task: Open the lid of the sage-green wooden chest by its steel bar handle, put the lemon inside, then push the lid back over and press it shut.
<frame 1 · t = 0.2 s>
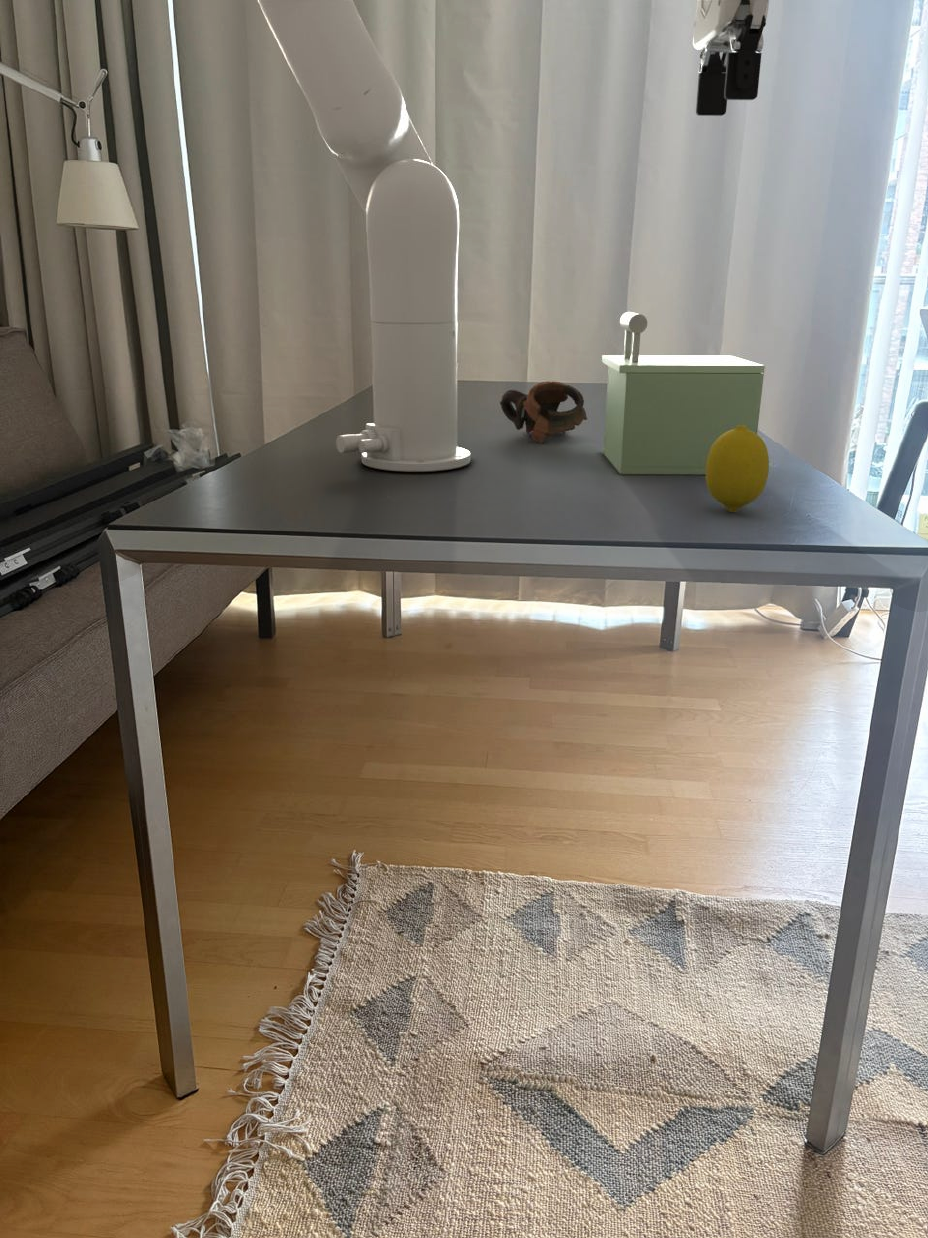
hand: (724, 107, 97), 37 cm above the table, tool pointing down, fingers open, 9 cm apart
lemon: (732, 514, 86), on the table
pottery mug: (541, 438, 126), on the table
lid: (680, 340, 104), point 14 cm above the table, hinge at 0.0°
chest: (674, 463, 108), on the table
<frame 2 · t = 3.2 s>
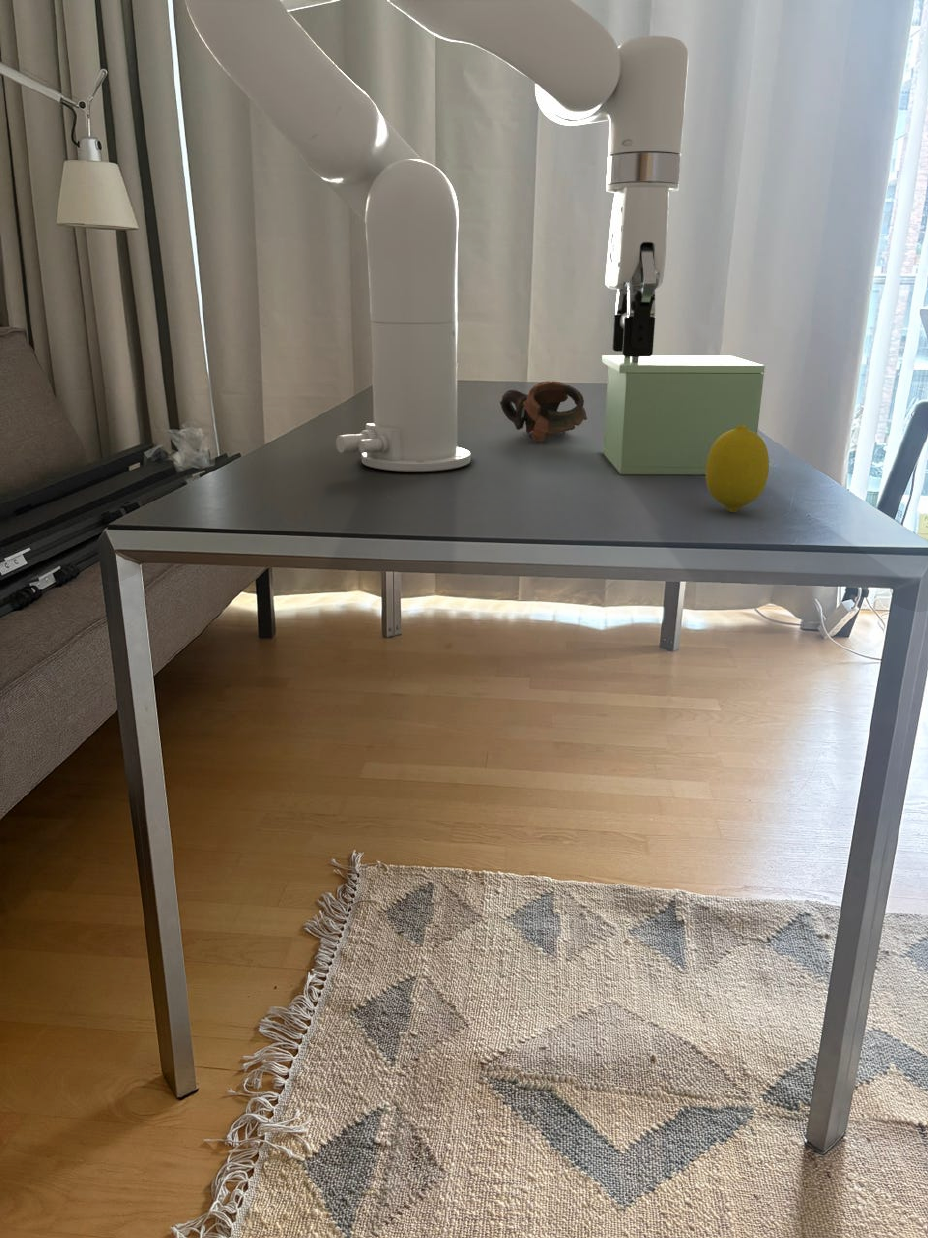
hand: (631, 352, 104), 12 cm above the table, tool pointing down, fingers closed on lid, 6 cm apart
lid: (680, 340, 104), point 14 cm above the table, hinge at 0.0°, touching gripper
everything else where it was.
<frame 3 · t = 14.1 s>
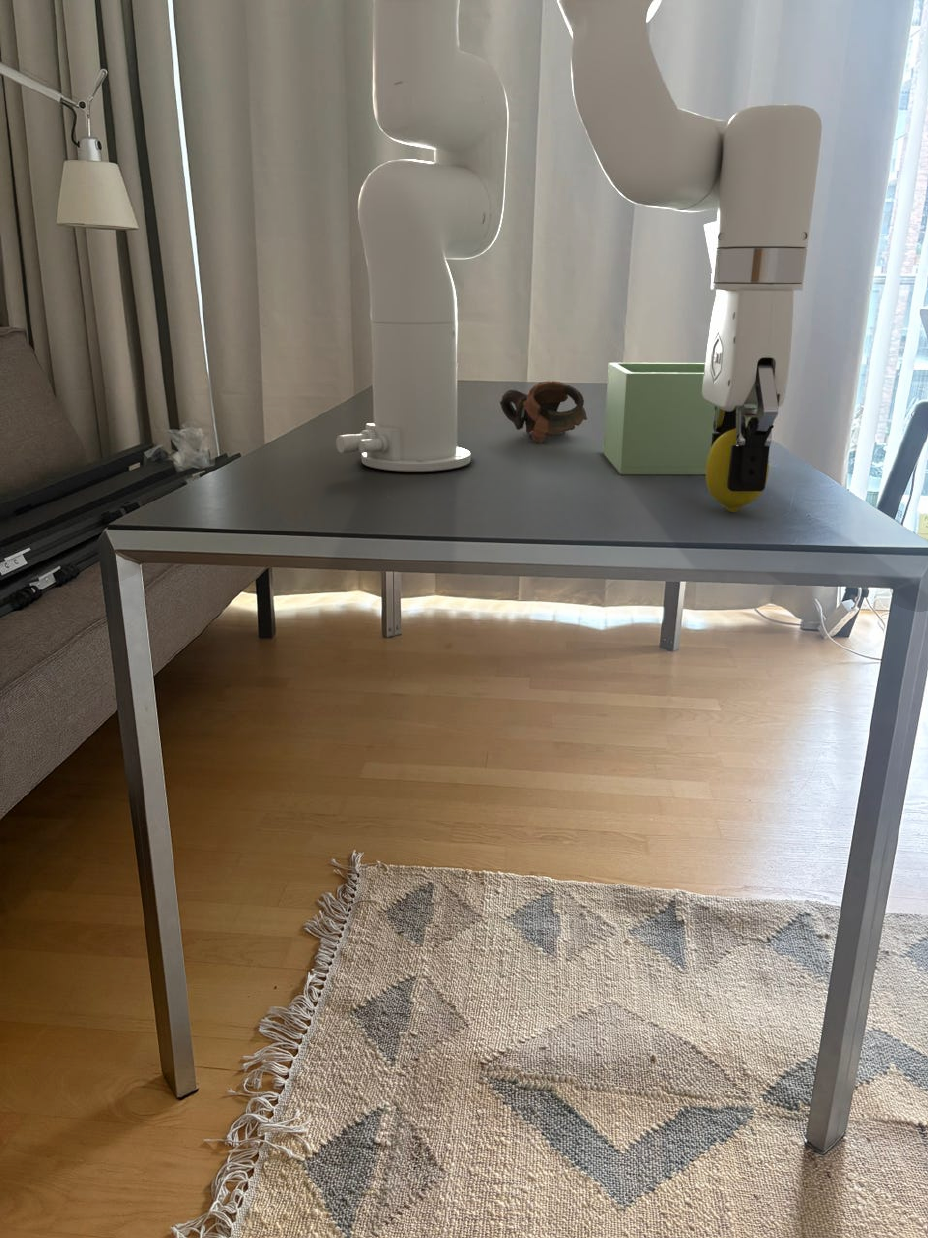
hand: (735, 481, 85), 3 cm above the table, tool pointing down, fingers closed on lemon, 5 cm apart
lemon: (732, 514, 86), on the table, touching gripper
lid: (757, 287, 102), point 19 cm above the table, hinge at 73.6°
everything else where it was.
when the fingers open (10 cm above the table, at t = 20.5 s): lemon drops 6 cm, resting on chest.
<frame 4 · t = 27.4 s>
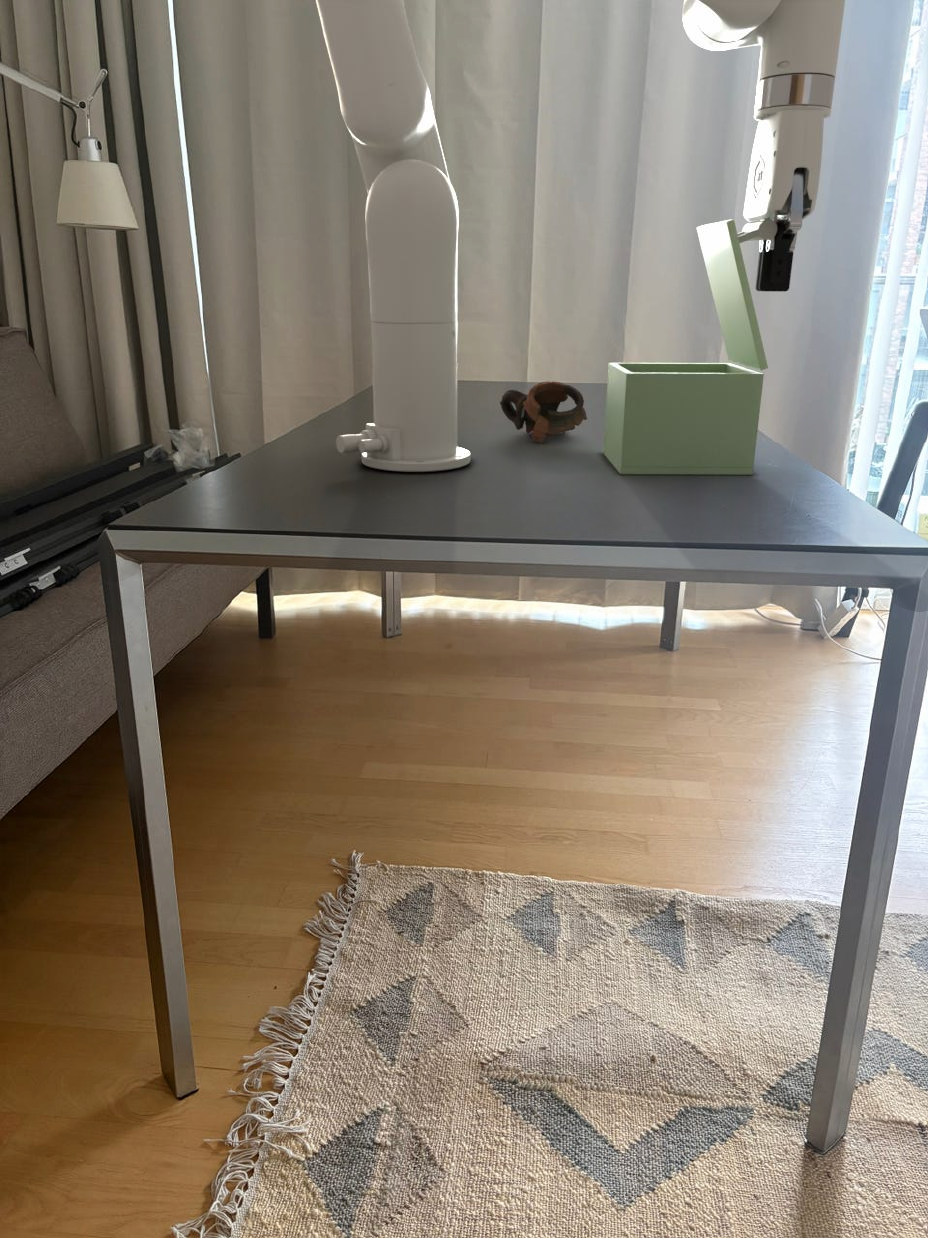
hand: (771, 290, 102), 19 cm above the table, tool pointing down, fingers closed
lemon: (665, 452, 108), point 1 cm above the table, touching chest
lid: (753, 287, 102), point 19 cm above the table, hinge at 70.4°, touching gripper
everything else where it was.
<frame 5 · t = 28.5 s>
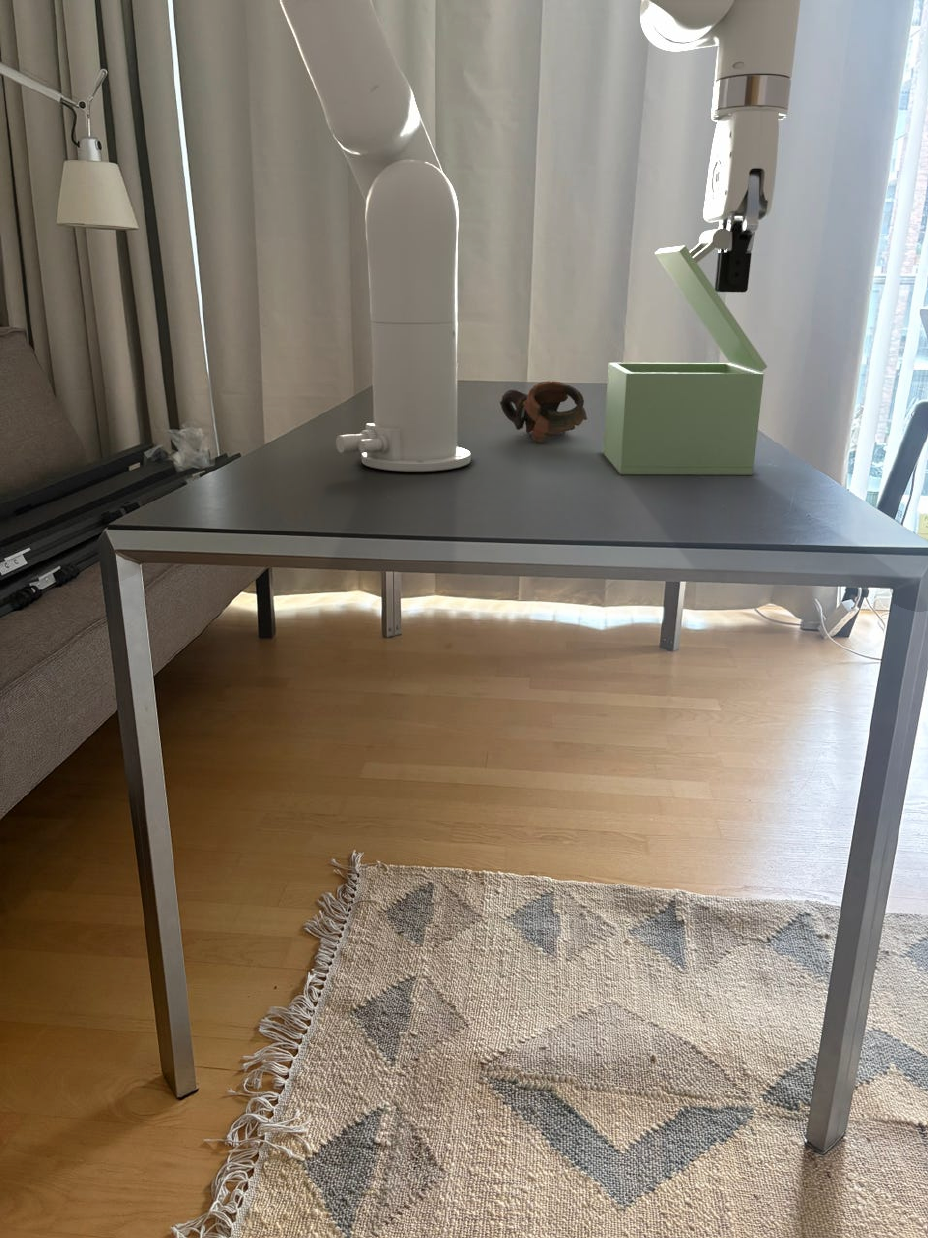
hand: (730, 291, 102), 19 cm above the table, tool pointing down, fingers closed
lid: (727, 292, 102), point 19 cm above the table, hinge at 50.5°
everything else where it was.
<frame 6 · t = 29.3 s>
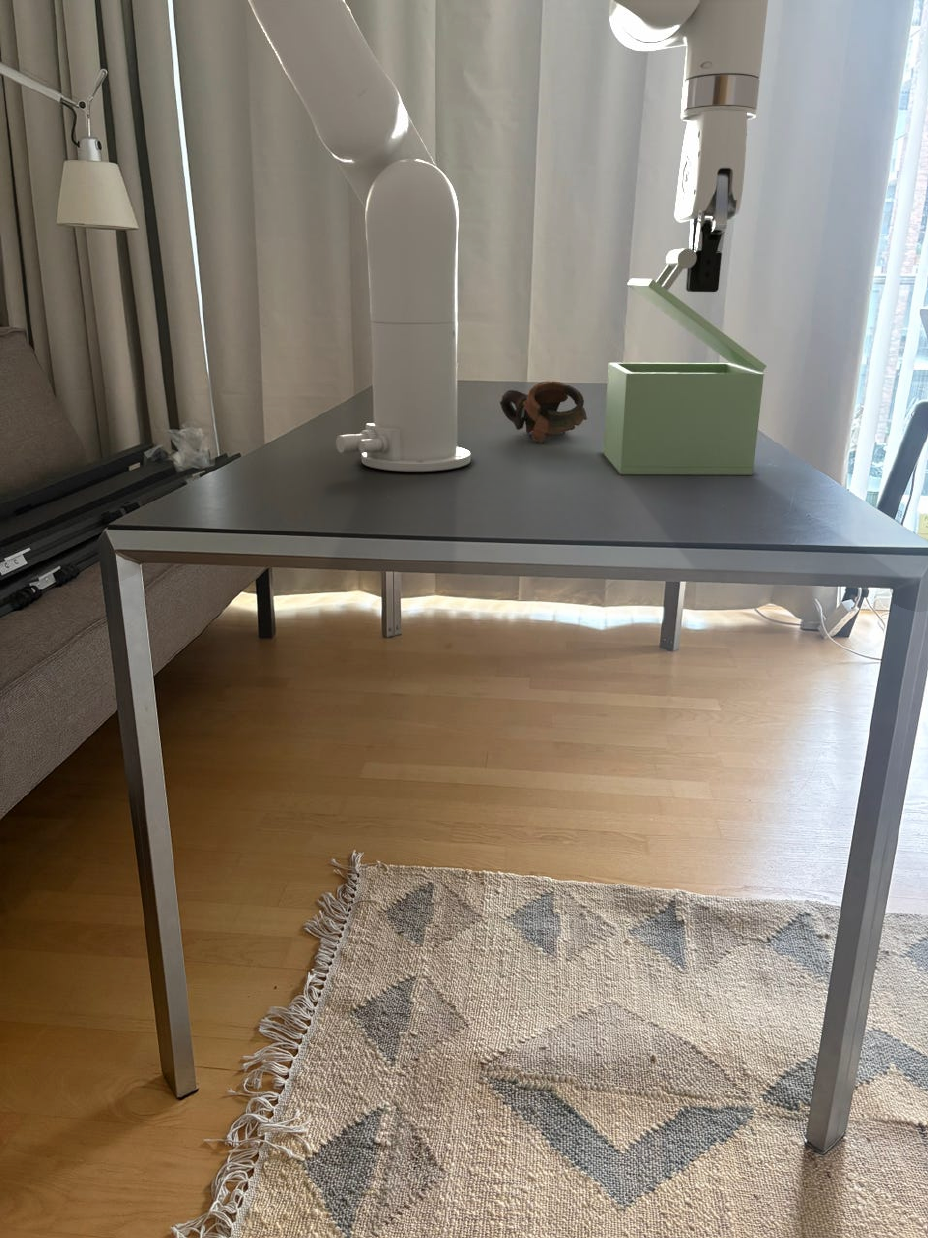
hand: (701, 291, 102), 19 cm above the table, tool pointing down, fingers closed
lid: (708, 303, 102), point 18 cm above the table, hinge at 34.0°, touching gripper
everything else where it was.
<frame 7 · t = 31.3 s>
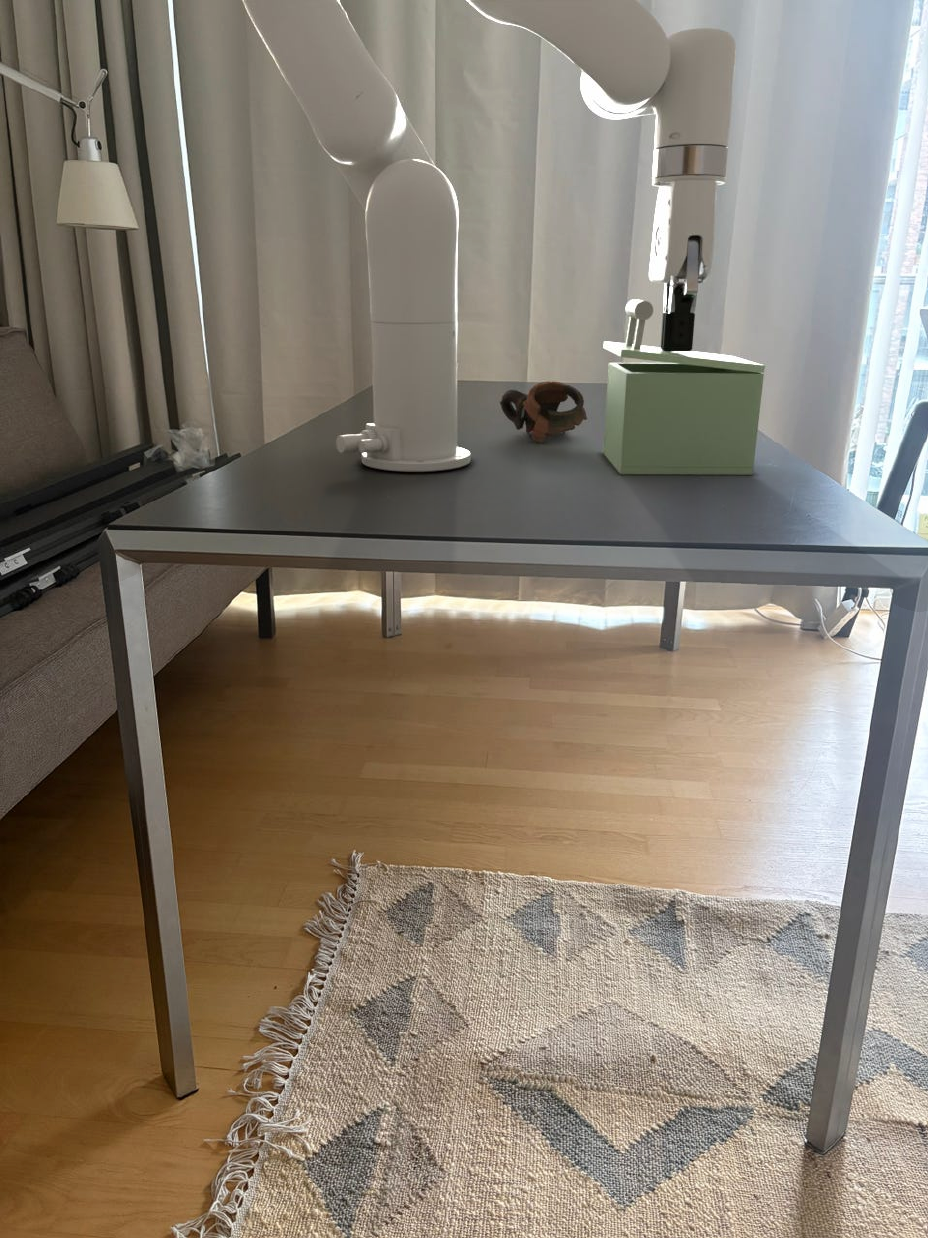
hand: (676, 350, 104), 13 cm above the table, tool pointing down, fingers closed
lid: (684, 332, 103), point 15 cm above the table, hinge at 6.0°, touching gripper
everything else where it was.
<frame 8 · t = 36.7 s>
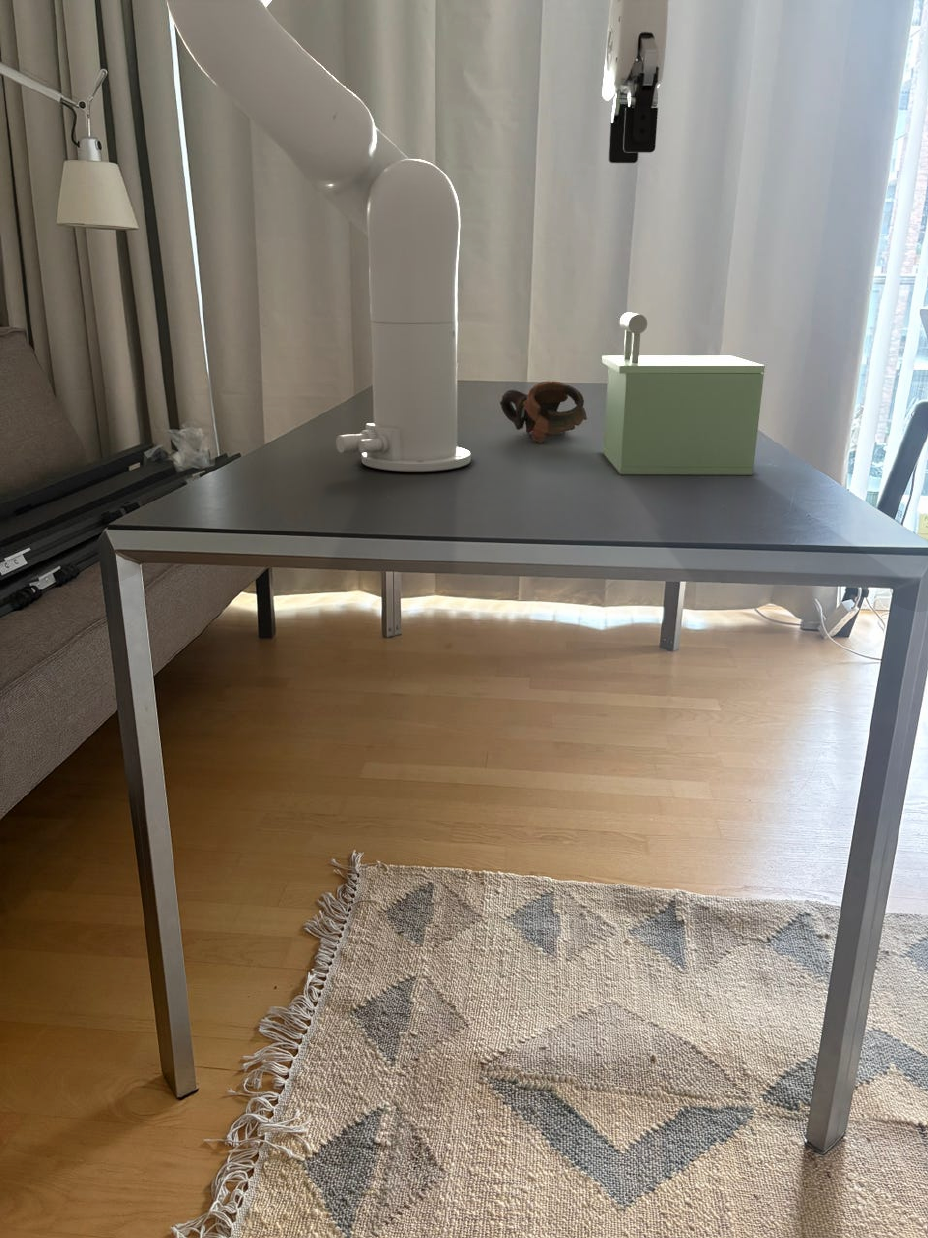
hand: (630, 157, 99), 32 cm above the table, tool pointing down, fingers open, 9 cm apart
lid: (680, 340, 104), point 14 cm above the table, hinge at -0.2°, touching chest
everything else where it was.
at the end: lid reached +80° during the clip, +0° at the end; lemon inside the target area in the chest (1.1 cm from its centre), point 1.3 cm above the chest's base; lid at +0° (first picture: +0°) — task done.
